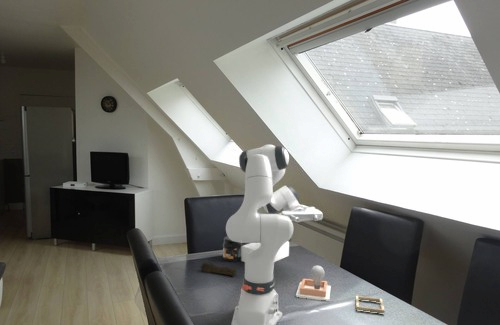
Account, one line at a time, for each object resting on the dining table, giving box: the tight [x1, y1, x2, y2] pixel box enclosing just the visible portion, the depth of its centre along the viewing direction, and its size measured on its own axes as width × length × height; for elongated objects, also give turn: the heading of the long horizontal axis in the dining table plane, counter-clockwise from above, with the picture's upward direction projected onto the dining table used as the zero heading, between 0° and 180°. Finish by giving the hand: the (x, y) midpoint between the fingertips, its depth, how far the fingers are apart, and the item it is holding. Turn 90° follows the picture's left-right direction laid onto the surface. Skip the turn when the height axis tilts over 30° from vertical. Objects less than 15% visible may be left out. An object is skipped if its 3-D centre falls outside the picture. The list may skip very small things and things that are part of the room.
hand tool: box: [200, 262, 237, 277], centre depth 177 cm, size 19×4×5 cm, turn 67°
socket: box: [295, 278, 332, 302], centre depth 156 cm, size 14×14×4 cm
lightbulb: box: [310, 265, 326, 289], centre depth 156 cm, size 6×6×11 cm
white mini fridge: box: [240, 240, 290, 263], centre depth 199 cm, size 14×25×11 cm, turn 139°
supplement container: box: [222, 235, 243, 262], centre depth 197 cm, size 10×10×12 cm
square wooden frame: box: [355, 295, 386, 314], centre depth 143 cm, size 10×10×2 cm
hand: (306, 219), depth 166 cm, fingers open, 8 cm apart
